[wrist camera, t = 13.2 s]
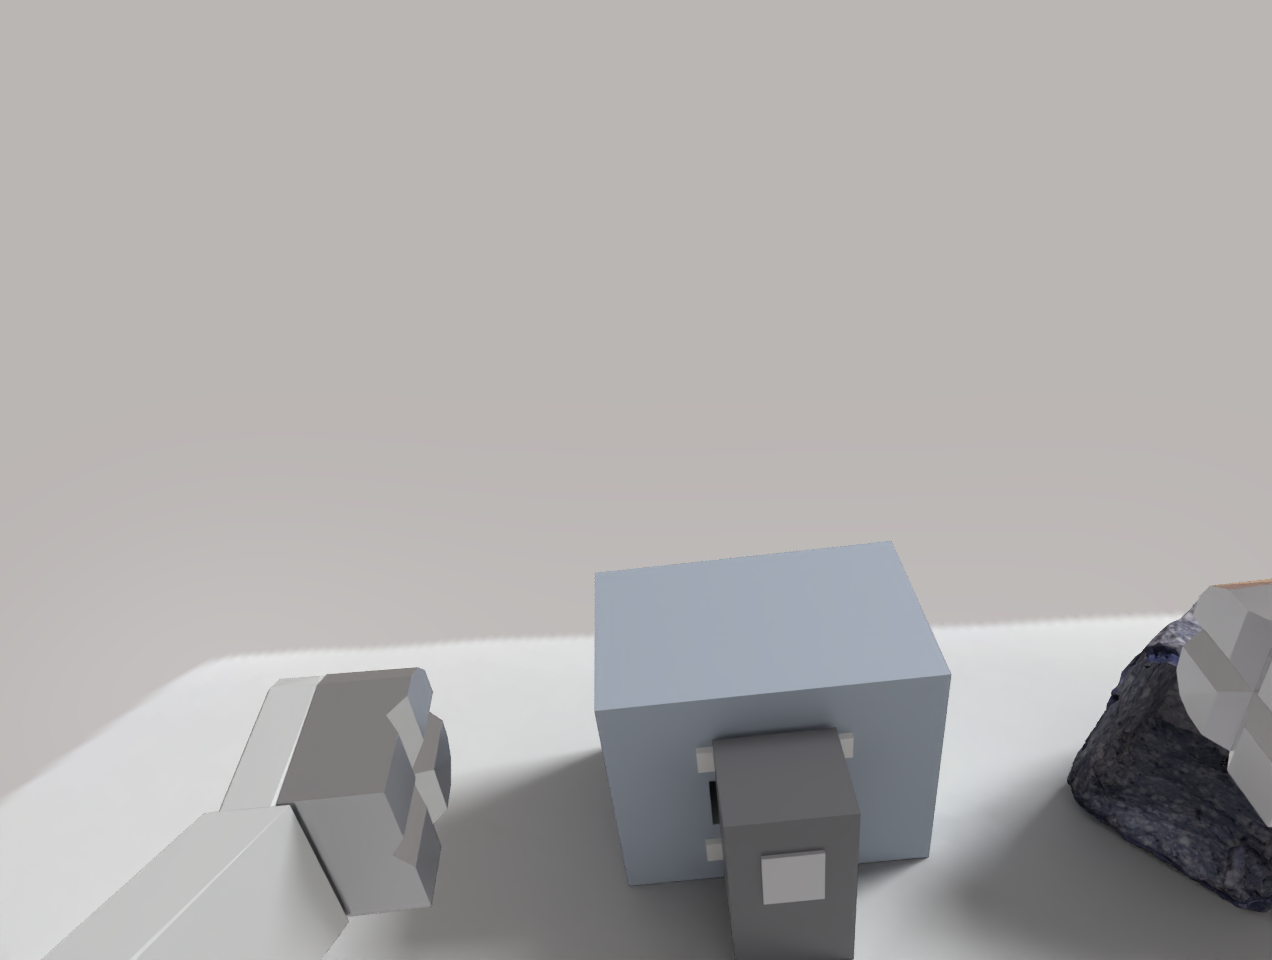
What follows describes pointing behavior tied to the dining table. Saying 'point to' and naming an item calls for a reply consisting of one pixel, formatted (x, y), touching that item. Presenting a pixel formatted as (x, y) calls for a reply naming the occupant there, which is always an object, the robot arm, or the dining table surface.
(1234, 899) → the stone
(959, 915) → the dining table surface
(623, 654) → the socket
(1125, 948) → the dining table surface
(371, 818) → the robot arm
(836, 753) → the plug
